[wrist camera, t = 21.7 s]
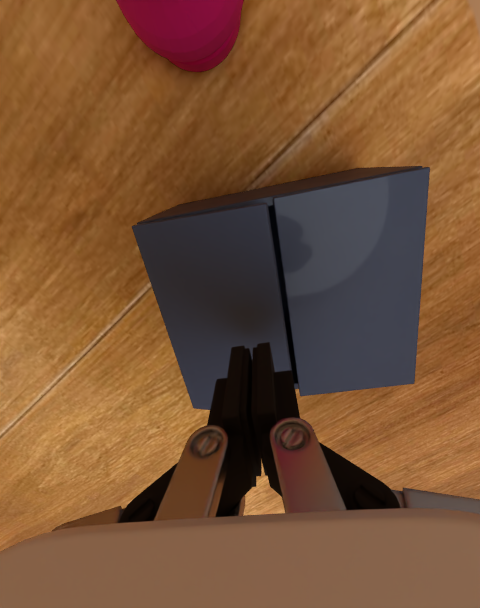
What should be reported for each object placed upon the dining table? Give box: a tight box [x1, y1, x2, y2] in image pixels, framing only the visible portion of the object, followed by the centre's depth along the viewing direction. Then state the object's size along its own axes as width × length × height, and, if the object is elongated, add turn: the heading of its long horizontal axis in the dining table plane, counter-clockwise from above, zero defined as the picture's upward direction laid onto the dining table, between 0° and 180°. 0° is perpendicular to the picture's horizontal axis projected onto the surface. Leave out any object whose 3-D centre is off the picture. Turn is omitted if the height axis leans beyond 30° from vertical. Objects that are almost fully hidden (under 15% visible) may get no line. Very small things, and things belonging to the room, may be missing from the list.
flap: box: [132, 203, 292, 410], centre depth 17 cm, size 7×13×1 cm, turn 11°
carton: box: [137, 166, 430, 396], centre depth 22 cm, size 15×13×10 cm
